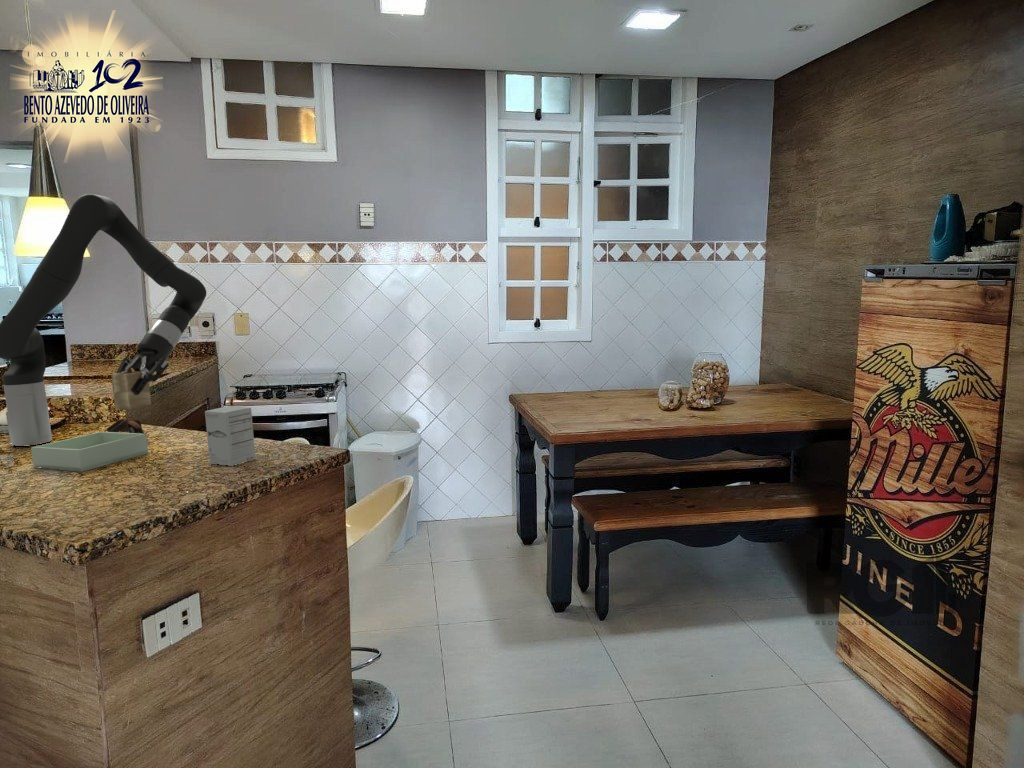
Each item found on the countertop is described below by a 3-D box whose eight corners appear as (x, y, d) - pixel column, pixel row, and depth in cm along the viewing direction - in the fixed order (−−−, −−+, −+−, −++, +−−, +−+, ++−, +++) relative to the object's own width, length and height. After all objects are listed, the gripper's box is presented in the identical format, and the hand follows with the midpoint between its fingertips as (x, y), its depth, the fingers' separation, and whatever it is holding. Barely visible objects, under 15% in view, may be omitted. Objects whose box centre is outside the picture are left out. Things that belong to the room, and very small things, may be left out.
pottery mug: (143, 448, 182) (122, 424, 179) (113, 464, 182) (92, 441, 179) (158, 428, 193) (139, 405, 190) (130, 444, 193) (110, 421, 190)
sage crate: (33, 468, 162) (30, 447, 161) (103, 450, 178) (100, 431, 178) (81, 471, 156) (78, 450, 155) (148, 453, 173) (146, 433, 172)
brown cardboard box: (114, 409, 172) (111, 373, 171) (135, 405, 177) (131, 371, 176) (131, 410, 170) (127, 374, 169) (151, 406, 175) (147, 371, 174)
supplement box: (208, 464, 157) (203, 410, 156) (235, 457, 164) (229, 405, 162) (231, 467, 154) (225, 412, 152) (257, 459, 160) (252, 406, 159)
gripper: (130, 331, 181) (93, 382, 171) (171, 331, 176) (136, 384, 166) (149, 350, 186) (114, 400, 177) (189, 350, 181) (156, 402, 172)
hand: (125, 392), depth 171 cm, fingers closed on brown cardboard box, 5 cm apart
